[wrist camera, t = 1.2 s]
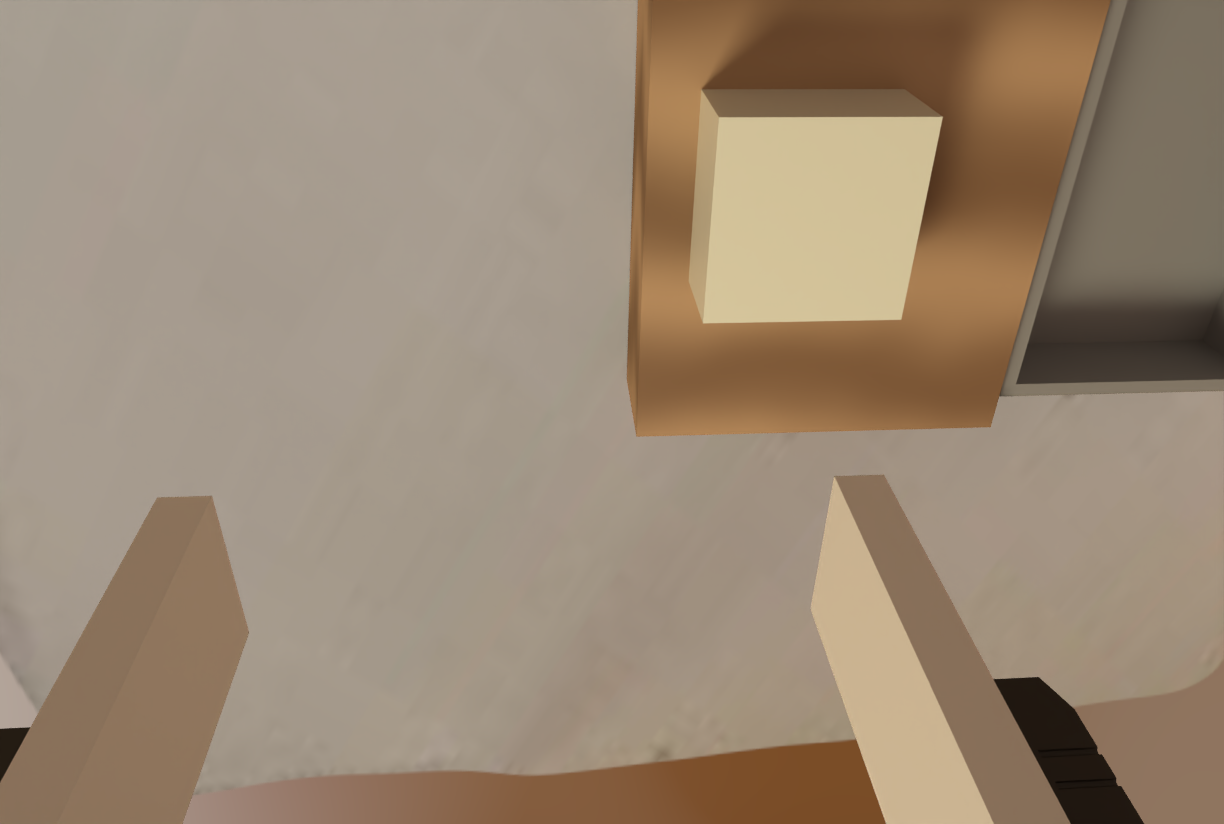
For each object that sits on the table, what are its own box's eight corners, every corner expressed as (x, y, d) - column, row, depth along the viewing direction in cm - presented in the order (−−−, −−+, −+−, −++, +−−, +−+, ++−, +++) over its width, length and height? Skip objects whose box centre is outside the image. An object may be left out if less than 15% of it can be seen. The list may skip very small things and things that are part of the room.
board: (642, -160, 27) (658, -157, 23) (1077, -152, 28) (1152, -148, 24) (627, 379, 36) (636, 436, 33) (949, 372, 37) (990, 427, 34)
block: (701, 89, 27) (719, 117, 24) (904, 88, 27) (942, 116, 25) (688, 280, 30) (702, 323, 27) (870, 278, 30) (901, 319, 28)
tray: (1077, -113, 28) (1140, -105, 25) (1386, -108, 29) (1482, -100, 26) (961, 350, 37) (999, 396, 34) (1202, 345, 38) (1259, 389, 35)
